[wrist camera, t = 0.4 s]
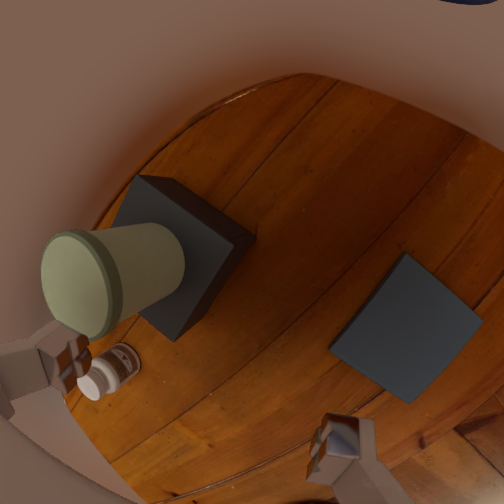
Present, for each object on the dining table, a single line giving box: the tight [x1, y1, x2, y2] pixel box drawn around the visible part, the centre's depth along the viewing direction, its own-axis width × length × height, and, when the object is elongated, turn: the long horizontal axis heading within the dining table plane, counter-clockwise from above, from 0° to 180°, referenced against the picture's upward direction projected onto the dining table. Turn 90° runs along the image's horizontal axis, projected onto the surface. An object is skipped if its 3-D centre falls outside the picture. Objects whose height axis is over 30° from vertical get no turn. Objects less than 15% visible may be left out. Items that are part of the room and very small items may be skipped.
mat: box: [329, 252, 484, 404], centre depth 24 cm, size 11×11×1 cm
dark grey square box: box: [111, 174, 255, 342], centre depth 26 cm, size 10×10×6 cm
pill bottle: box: [77, 343, 140, 401], centre depth 30 cm, size 4×4×8 cm
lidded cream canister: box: [40, 223, 185, 342], centre depth 19 cm, size 6×6×9 cm
